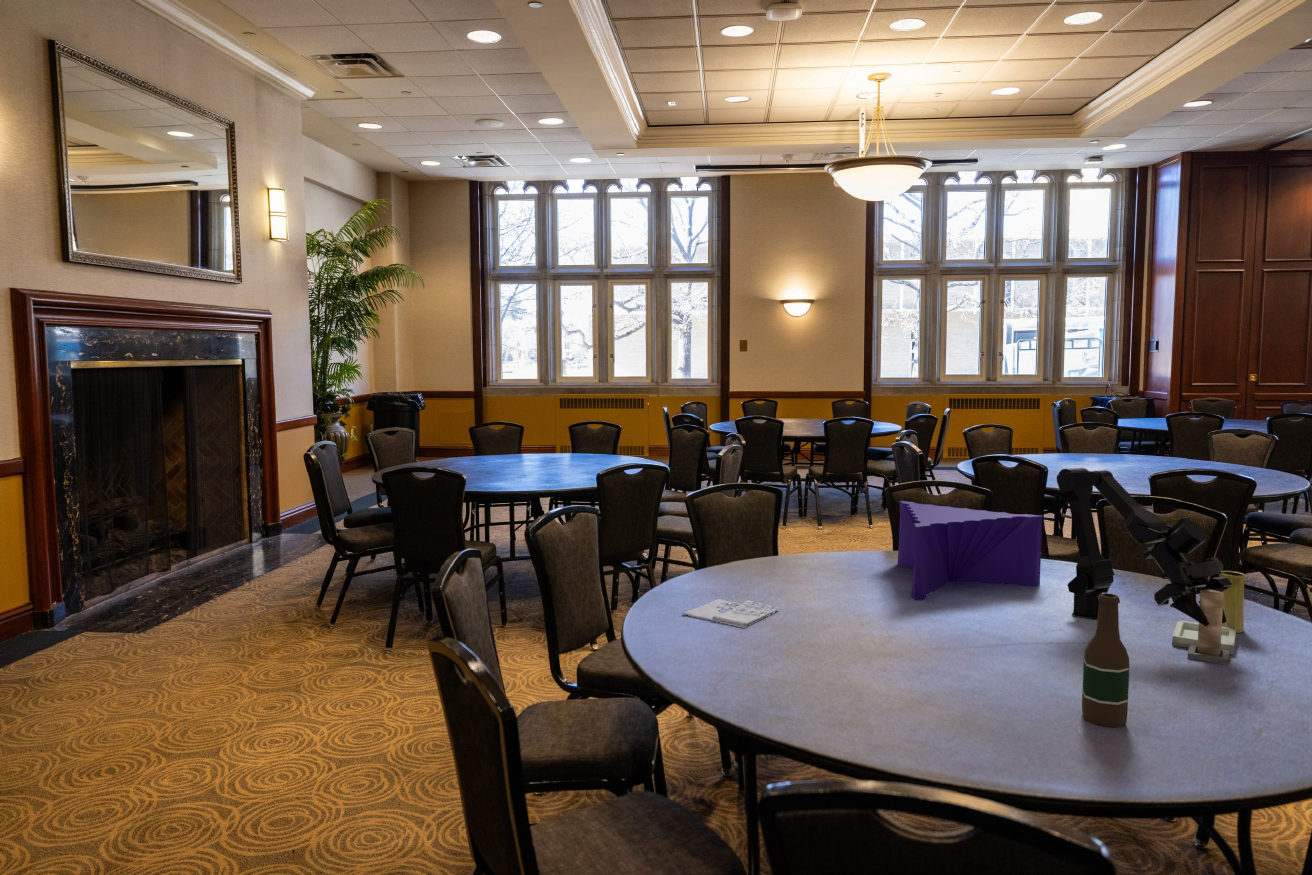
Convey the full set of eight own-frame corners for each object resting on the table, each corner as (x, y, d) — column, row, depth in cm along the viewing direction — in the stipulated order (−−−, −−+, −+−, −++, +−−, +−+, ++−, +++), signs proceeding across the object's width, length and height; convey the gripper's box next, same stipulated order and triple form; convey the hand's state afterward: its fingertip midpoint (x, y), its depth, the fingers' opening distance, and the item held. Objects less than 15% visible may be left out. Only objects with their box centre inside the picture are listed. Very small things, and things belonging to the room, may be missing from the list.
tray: (1172, 644, 202) (1172, 635, 202) (1177, 628, 214) (1178, 620, 214) (1233, 654, 195) (1233, 645, 195) (1235, 637, 207) (1235, 628, 207)
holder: (1187, 658, 193) (1187, 652, 193) (1190, 648, 199) (1190, 643, 199) (1227, 664, 188) (1228, 659, 188) (1229, 655, 195) (1229, 650, 194)
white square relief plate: (744, 630, 217) (744, 622, 217) (680, 617, 229) (680, 609, 229) (781, 612, 232) (781, 605, 232) (718, 600, 244) (718, 593, 244)
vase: (1248, 633, 209) (1251, 576, 208) (1221, 632, 211) (1224, 575, 209) (1237, 626, 215) (1240, 570, 214) (1210, 624, 217) (1213, 569, 215)
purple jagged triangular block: (899, 563, 285) (901, 500, 283) (1041, 585, 256) (1043, 515, 254) (842, 588, 255) (843, 517, 253) (995, 616, 226) (997, 537, 224)
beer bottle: (1072, 711, 164) (1077, 590, 162) (1110, 710, 165) (1115, 588, 163) (1096, 729, 157) (1101, 601, 154) (1136, 727, 157) (1142, 600, 155)
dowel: (1196, 657, 193) (1199, 592, 192) (1197, 652, 197) (1200, 588, 195) (1219, 661, 191) (1223, 595, 189) (1220, 655, 194) (1224, 591, 193)
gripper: (1167, 549, 192) (1212, 610, 183) (1226, 542, 198) (1272, 601, 189) (1135, 575, 200) (1176, 635, 191) (1193, 568, 206) (1235, 625, 197)
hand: (1216, 623), depth 192 cm, fingers open, 5 cm apart
